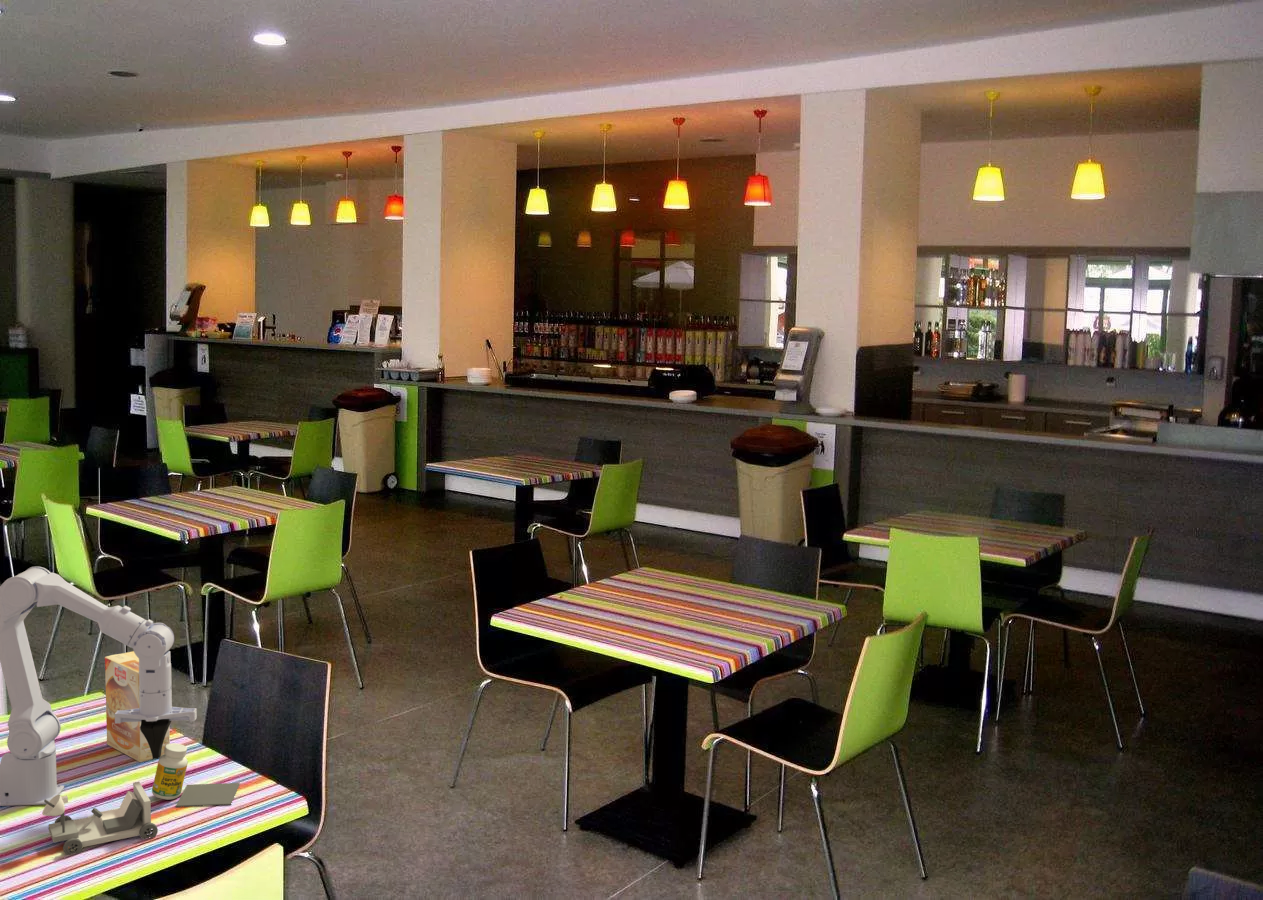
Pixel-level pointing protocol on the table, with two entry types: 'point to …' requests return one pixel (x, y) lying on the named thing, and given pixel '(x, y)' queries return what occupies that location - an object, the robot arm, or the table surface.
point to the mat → (208, 794)
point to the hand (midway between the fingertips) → (156, 757)
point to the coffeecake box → (125, 707)
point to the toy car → (102, 822)
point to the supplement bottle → (170, 772)
